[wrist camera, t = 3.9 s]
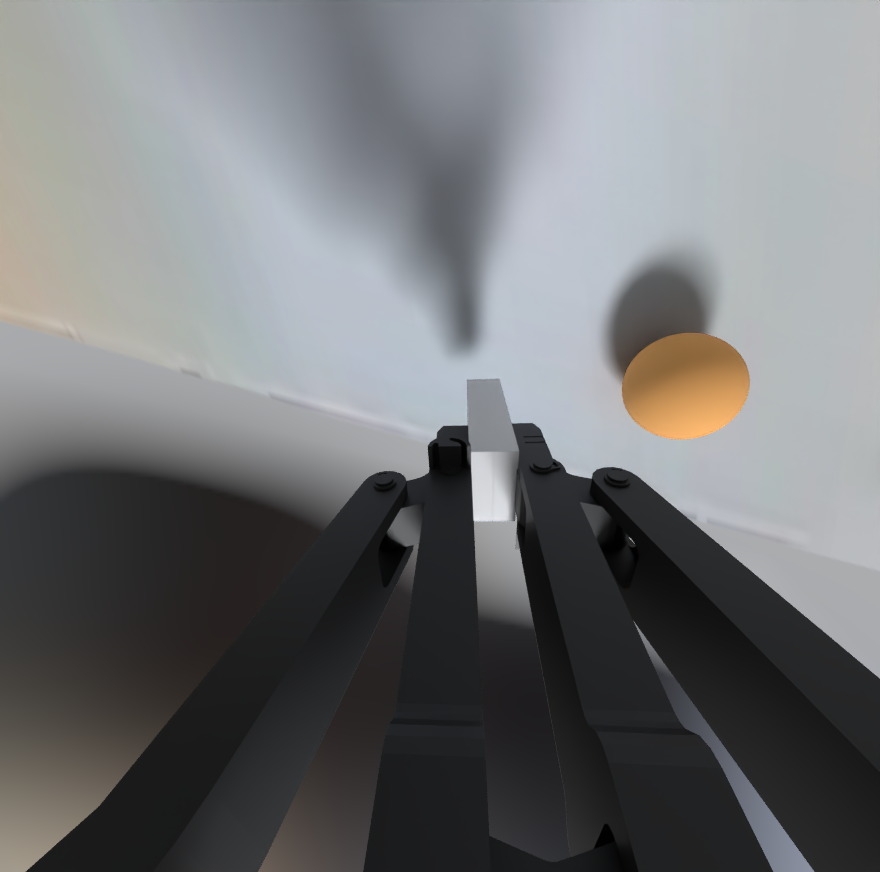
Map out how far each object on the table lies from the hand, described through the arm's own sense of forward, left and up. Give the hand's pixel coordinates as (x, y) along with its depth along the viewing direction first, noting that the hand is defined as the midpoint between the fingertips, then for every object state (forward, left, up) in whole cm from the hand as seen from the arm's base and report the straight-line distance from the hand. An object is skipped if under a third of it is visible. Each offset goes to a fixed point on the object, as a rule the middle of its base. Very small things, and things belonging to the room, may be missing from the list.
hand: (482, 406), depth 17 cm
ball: (0, +9, -1) cm, 9 cm away
